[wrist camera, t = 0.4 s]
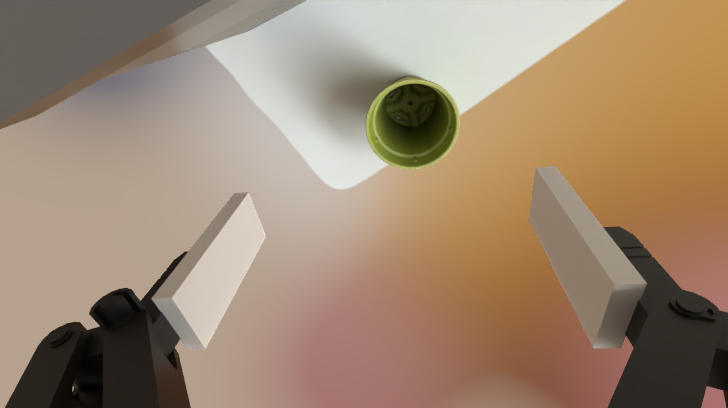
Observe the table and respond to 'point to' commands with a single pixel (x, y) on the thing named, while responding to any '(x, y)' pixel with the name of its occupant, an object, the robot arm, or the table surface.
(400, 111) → the plant pot
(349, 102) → the table surface
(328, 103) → the table surface
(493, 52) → the table surface
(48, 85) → the grey box
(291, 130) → the table surface
